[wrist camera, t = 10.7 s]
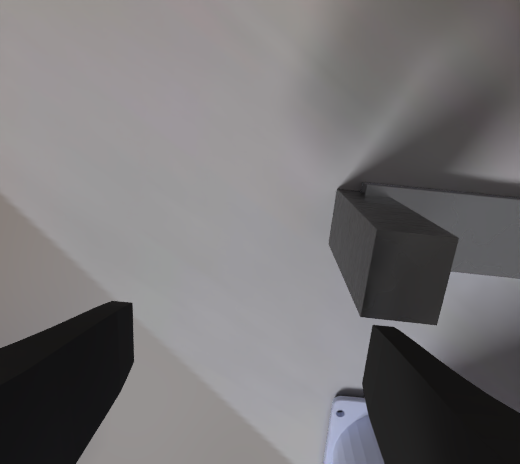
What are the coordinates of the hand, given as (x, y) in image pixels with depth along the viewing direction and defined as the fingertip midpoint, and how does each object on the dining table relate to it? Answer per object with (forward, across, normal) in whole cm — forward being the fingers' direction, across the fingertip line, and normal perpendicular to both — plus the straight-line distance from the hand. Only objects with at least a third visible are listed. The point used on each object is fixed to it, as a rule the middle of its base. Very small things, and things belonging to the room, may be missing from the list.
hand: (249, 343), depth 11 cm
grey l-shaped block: (+9, -12, -2) cm, 16 cm away
